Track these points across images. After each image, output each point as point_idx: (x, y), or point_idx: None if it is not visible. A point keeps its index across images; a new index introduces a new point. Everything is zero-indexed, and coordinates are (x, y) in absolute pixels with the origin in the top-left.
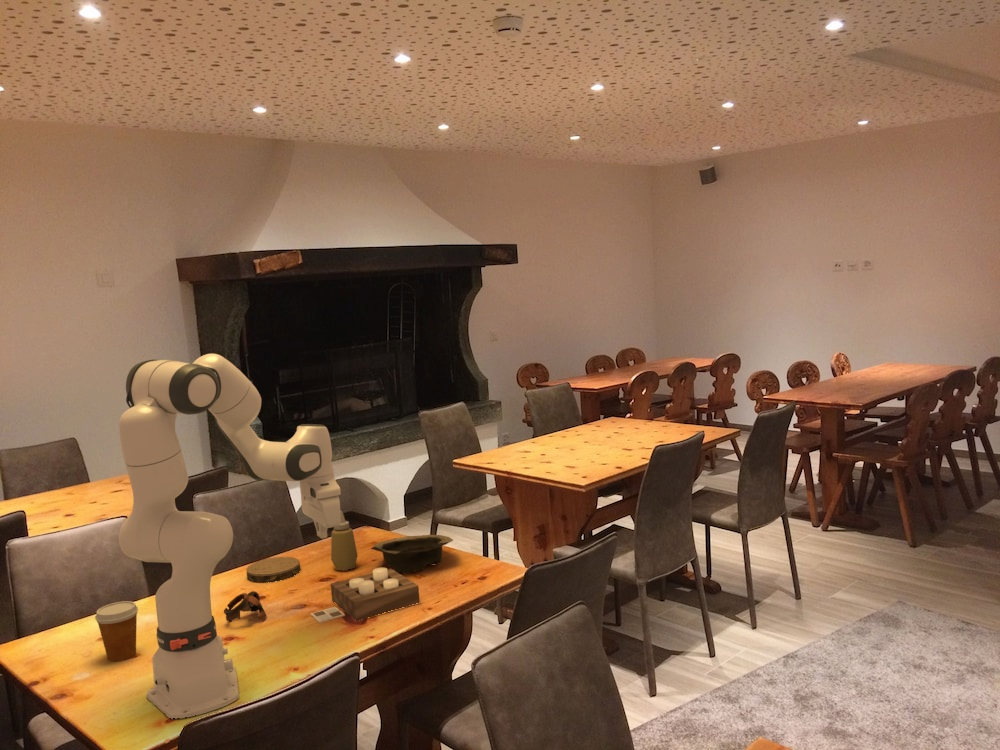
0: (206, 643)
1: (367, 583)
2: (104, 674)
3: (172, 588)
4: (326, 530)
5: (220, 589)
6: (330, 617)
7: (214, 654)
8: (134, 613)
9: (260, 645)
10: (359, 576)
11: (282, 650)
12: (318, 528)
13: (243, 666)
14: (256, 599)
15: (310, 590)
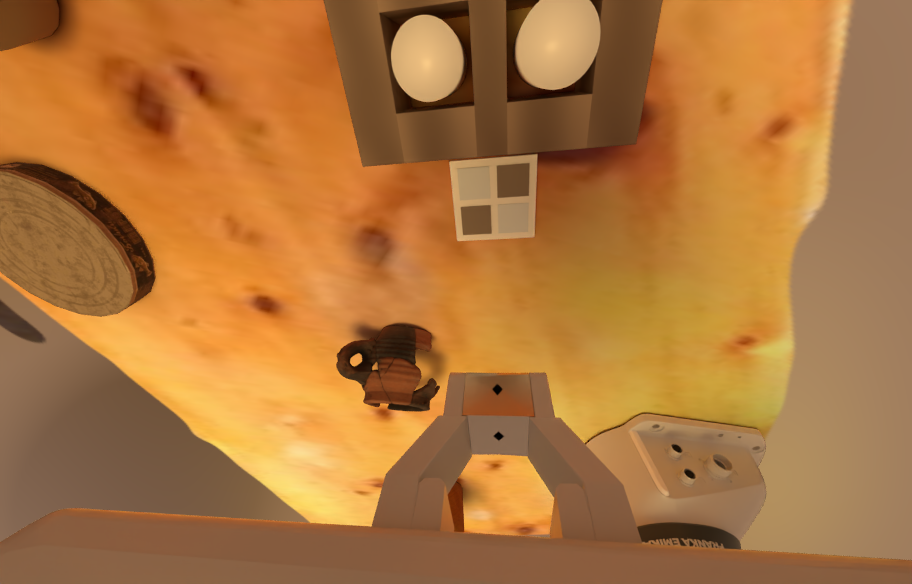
0: (739, 542)
1: (571, 37)
2: (495, 503)
3: None
4: (565, 428)
5: (183, 356)
6: (527, 201)
7: (746, 515)
8: None
9: (560, 363)
10: (326, 9)
11: (625, 339)
12: (464, 460)
13: (633, 400)
14: (399, 373)
15: (252, 187)
